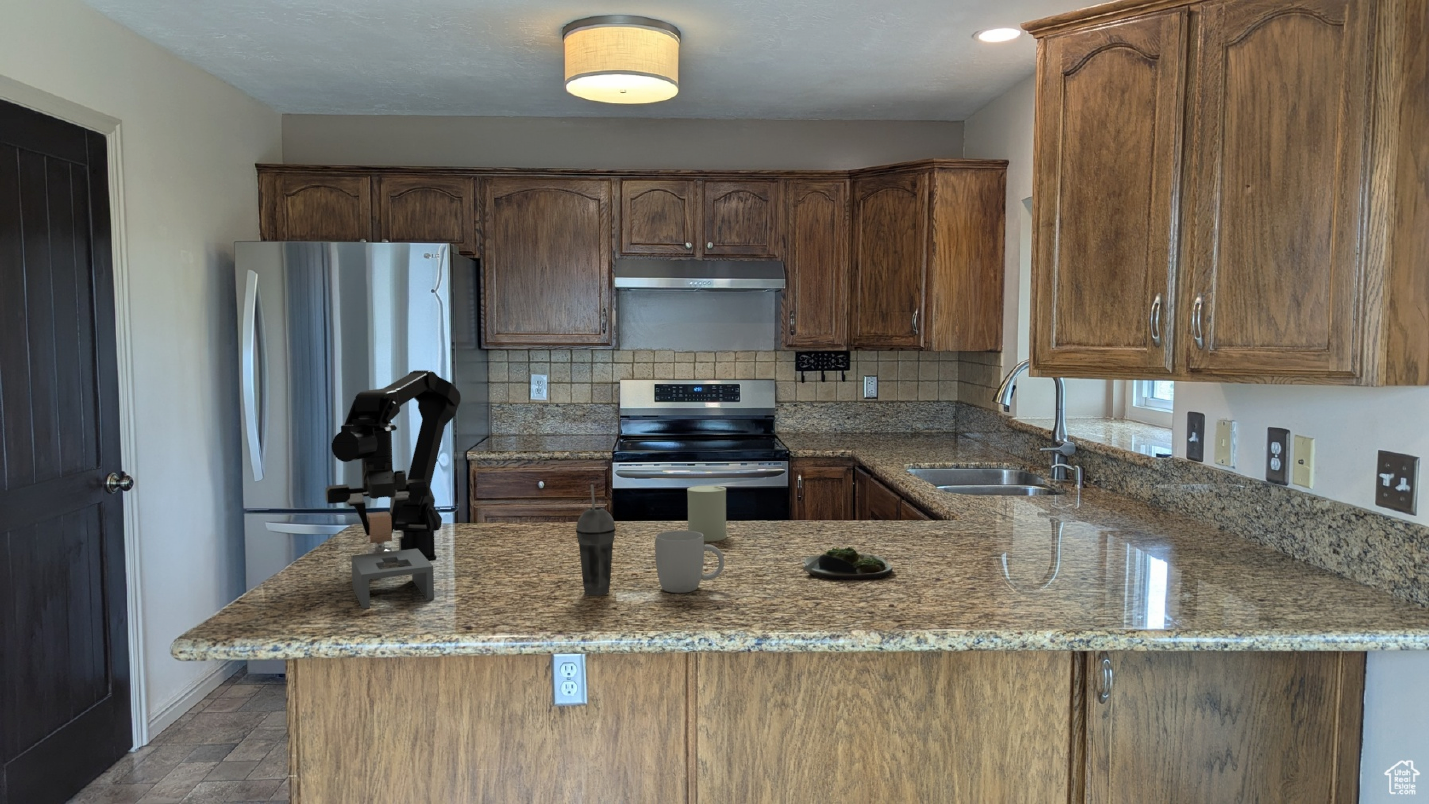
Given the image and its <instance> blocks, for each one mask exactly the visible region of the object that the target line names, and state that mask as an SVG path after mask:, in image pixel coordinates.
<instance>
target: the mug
mask: <svg viewBox="0 0 1429 804" xmlns="http://www.w3.org/2000/svg"><path fill="white" fill-rule="evenodd" d="M654 539H655V540H654V551H655V552H654V554H655V556H654V557H655V566H656V572H657V578H658V581H659V585H660V586H661V589H662V590H663V591H664V592H668V593H675V594H685V593H691V592H695V591H697V589H698V588H699V585H700V582H701V581H702V580H703V581H710V580H714V579H716V578H717V577H719V576H720V574H721V573H722V572H723V571H724V567H725V557H724V554H723V553H722V551H721V549H719V548H718V547H716V546H715V545H713V544H709V543H708V544H707V543H706V544H705V542H704V536H703V534H702V533H700V532H695V531H688V530H667V531H664V532H663V531H662V532H658V533H657V534H655V538H654ZM705 551H709V552H712V553H714V554H715V555H716V557H717V559H718V565H717V568H716V569H715V570H714V571H711V573H704V574H703V569H704V561H705Z"/></svg>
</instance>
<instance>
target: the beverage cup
mask: <svg viewBox="0 0 1429 804" xmlns="http://www.w3.org/2000/svg"><path fill="white" fill-rule="evenodd" d="M594 489H595V488H594V484H590V492H591V495H590V496H591V507H590V508H588V509H586V510H584V511H583V512H582V513H581V514H580V515H579V518H578V520H577V524H576V529H575V532H576V538H577V543H578V547H579V548H578V549H579V555H580V567H581V576H582V584H583V590H584V595H586V596H589V597H590V596H591V597H600V596H605V595H608V594H609V593H610V585H611V577H612V576H611V575H612V562H613V549H614V541H615V536H616V530H617V529H616V525H615V520H614V518H613V516H612V515H611V513H609V512H608V511H607V510H606V509H604V508H602V507H596V502H595V501H596V500H595V490H594Z"/></svg>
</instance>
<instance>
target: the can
mask: <svg viewBox="0 0 1429 804" xmlns="http://www.w3.org/2000/svg"><path fill="white" fill-rule="evenodd" d="M686 490H687V531H695V532H700V533H702V534H703V536H704V543H705V542H719V541H723V540H725V539H727V537H728V535H727V487H724V486H719V485H695V486H690V487H688V488H687V489H686Z"/></svg>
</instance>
